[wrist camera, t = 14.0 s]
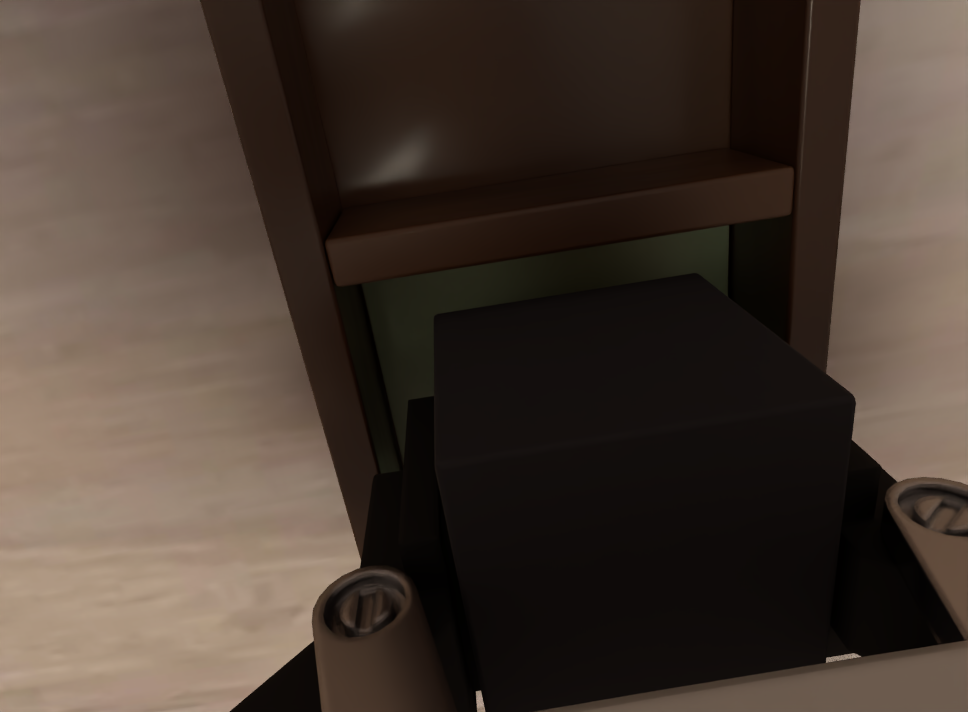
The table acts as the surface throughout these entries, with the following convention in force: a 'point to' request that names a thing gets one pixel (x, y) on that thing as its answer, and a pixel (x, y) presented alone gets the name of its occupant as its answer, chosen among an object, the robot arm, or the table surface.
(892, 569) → the robot arm
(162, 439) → the table surface
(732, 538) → the black rectangular box
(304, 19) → the divided tray
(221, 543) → the table surface
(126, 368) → the table surface
